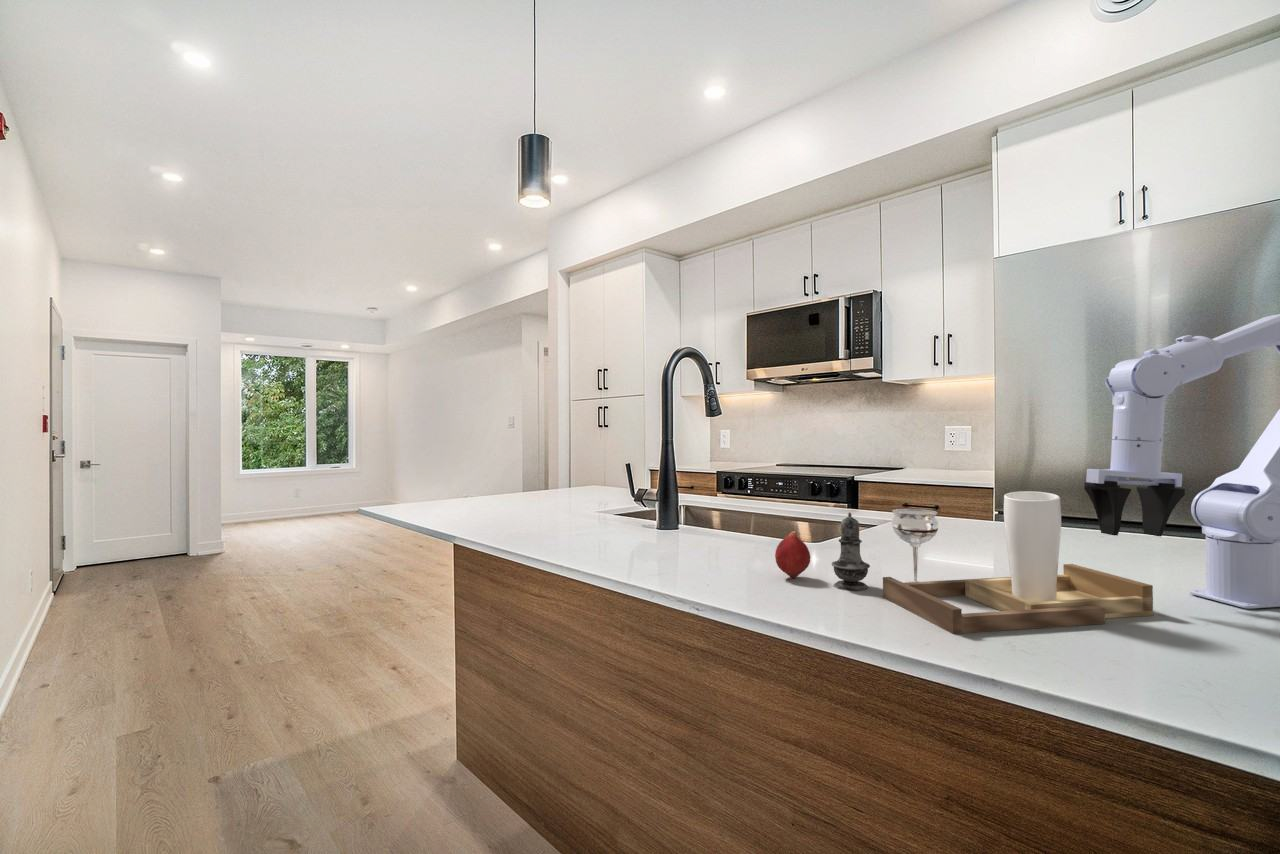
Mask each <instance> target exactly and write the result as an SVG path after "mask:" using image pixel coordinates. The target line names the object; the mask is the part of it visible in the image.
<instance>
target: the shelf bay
mask: <svg viewBox="0 0 1280 854" xmlns="http://www.w3.org/2000/svg"><path fill="white" fill-rule="evenodd" d="M995 578H996V577H989V578H988V577H986V578H983V577H982V578H981V579H995ZM999 578H1011V576H1005V577H1003V576H1002V577H999ZM976 579H977V578H968V579H949V580H948V579H946V580H930V581H929V580H928V581H918V582H911V581H907V582H908V583H905V582H902V581H900V580H898V579H896V578H894V577H891V576H883V577H882V597H883V598H884V599H886V600H887V601H890V602H891V603H894V604H895V605H897V606H899V607H901V608H903V609H905V610H907V611H909V612H911V613H913V614H914V615H917V616H918V617H921V618H923V619H924V620H926V621H928V622H929V623H931V624H934V625H935V626H937V627H939V628H941V629H943V630H945V631H947V632H949V633H951V634H968V633H969V634H971V633H983V632H984V633H985V632H997V631H999V632H1001V631H1014V630H1016V631H1017V630H1026V629H1027V630H1029V629H1044V628H1059V627H1061V628H1062V627H1072V626H1088V625H1089V626H1090V625H1102V624H1103V625H1104V624H1106V618H1105V608H1103V607H1100V606H1097V605H1095V606H1078V607H1062V608H1046V609H1030V610H1014V611H1000V610H998V611H985V612H984V611H983V612H970V613H962V608H960V607H959V606H956V605H954V604H952V603H949V602H947V601H945V600H943V599H940V598H937V597H951V596H952V597H953V596H965V580H976Z"/></svg>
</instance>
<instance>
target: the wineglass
mask: <svg viewBox="0 0 1280 854" xmlns="http://www.w3.org/2000/svg"><path fill="white" fill-rule="evenodd" d="M891 512H892V513H893V515H894V517H893V519H892V521H891V525H892V530H893V532H894V534H896V535H897V536H898V538H900V540H902V541H904V542H906V543H908V544H909V546H910V547H911V548H912V558H913V559H912V560H913V561H912V563H913V564H912V565H913V576H914V577H913V578H914V580H912V581H911V580H910V582H919V580H918V562H919V561H918V560H919V559H918V553H919V552H918V551H919V548H920V547H921V545H923V544H924V543H926V542H927V543H928V542H929V541H930V540H932V539H933V538H934V537H935V536H936V534H937V532H938V530H939V524H938V520H937V519H936V516H937V514H938V511H935V510H932V509H925V508H924V509H922V508H896V509H892V511H891ZM908 582H909V581H907V582H904V583H908Z"/></svg>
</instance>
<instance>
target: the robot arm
mask: <svg viewBox="0 0 1280 854" xmlns="http://www.w3.org/2000/svg"><path fill="white" fill-rule="evenodd" d="M1175 342H1176V343H1173V344H1171V345H1168V346H1165V347H1163V348H1160V349H1156V348H1152V349H1151V348H1150V349H1148V350H1145V351H1144V352H1143V354H1144V355H1143V356H1142V357H1140V358H1132V359H1125V360H1121V361H1120V362H1118V363H1116V364H1115V365H1114V367H1112V368H1111V369H1110V372H1109V374H1108V376H1107V377H1105V378H1104V384H1105V386H1106V390H1108V393H1110V395H1111V397H1112V403H1111V405H1112V406H1113V414H1112V415H1113V416H1112V429H1111V430H1112V432H1111V439H1112V440H1111V447H1110V448H1111V450H1110V451H1111V452H1110V466H1109V467H1110V468H1104V469H1102V468H1099V469H1098V468H1087V469H1086V480H1085V481H1086V482H1084V483H1083V484H1084V485H1083V489H1084V491H1085V492H1086V494H1087V495H1088V497H1089V499H1090V501H1091V503H1092V505H1093V508H1094V510H1095V513H1096V517H1097V522H1098V524H1099V525H1098V526H1099V530H1100V533H1101V534H1105V535H1110V536H1118V535H1119V534H1120V530H1121V525H1122V524H1121V523H1122V516H1123V511H1124V507H1125V505H1126V502H1127V500H1128V497H1129V495H1130V494H1131V492H1132V489H1131V488H1125V487H1121V485H1134V486H1135V485H1136V491H1137V493H1138V496H1139V500H1140V504H1141V513H1142V516H1141V518H1142V519H1141V520H1142V523H1141V524H1142V532H1143V534H1144V535H1147V536H1152V537H1153V536H1155V537H1162V535H1163V533H1164V531H1165V528H1166V525H1167V523H1168V521H1169V518H1170V516H1171V514H1172V512H1173V510H1174V509H1175V508H1176V507H1177V506H1176V505H1178V503H1179V502H1180V501H1181V500H1182V499H1183V498H1184V497H1185V495H1186V489H1185V488H1181V487H1182V485H1183V483H1182V482H1183V473H1178V472H1177V473H1175V472H1163V471H1161V470H1162V456H1163V455H1162V454H1163V441H1164V440H1163V439H1164V438H1163V437H1164V424H1165V419H1164V418H1165V403H1166V396H1169V395H1170V394H1172V392H1174V390H1175V389H1176V388H1177V387H1178V386H1181V385H1184V384H1187V383H1189V382H1192V381H1195V380H1197V379H1200V378H1204V377H1206V376H1209V375H1211V374H1213V373H1216V372H1218V371H1219V370H1221V368H1222V366H1223V363H1224V360H1226V359H1229V358H1232V357H1235V356H1238V355H1242V354H1245V353H1247V352H1251V351H1253V350H1257V349H1259V348H1263V347H1267V348H1268V347H1269V348H1270V347H1273V348H1274V349H1275V351H1276V352H1277V354H1278V355H1279V356H1280V313H1278V314H1273V315H1267V316H1264V317H1262V318H1260V319H1256V320H1255V321H1252V322H1250V323H1247V324H1244V325H1243V326H1240V327H1237V328H1235V329H1233V330H1230V331H1228V332H1226V333H1223V334H1221V335H1219V336H1216V337H1214V338H1209V337H1207V336H1204V335H1195V336H1193V335H1192V334H1187V335H1182V336H1179V337H1177V338H1175ZM1130 478H1134V479H1138V480H1130ZM1118 484H1119V485H1118ZM1190 512H1191V517H1192V518H1193V520H1194V521H1195V523H1196V524H1197V525H1198V526H1200V527H1201V533H1202V534H1204V535H1205V576H1206V577H1205V583H1206V585H1205V589H1192V590H1189V594H1190V595H1193V596H1196V597H1202V598H1204V599H1209V600H1213V601H1216V602H1220V603H1224V604H1227V605H1231V606H1235V607H1238V608H1243V609H1247V610H1248V609H1249V610H1253V609H1264V608H1265V609H1266V608H1276V607H1277V608H1280V408H1279V409H1278V410H1277V412H1276V413H1275V415H1274V416H1273V418H1272V419H1271V421H1269V423H1268V425H1267V426H1266V428H1265V429H1264V430H1263V432H1262V433H1261V435H1260V436H1259V438H1258V439H1257V441H1256V442H1255V444H1254V445H1253V447H1252V448H1251V449H1250V451H1249V452H1248V454H1247V455H1246V456H1245V457H1244V459H1243V461H1242V462H1241V464H1240V465H1239V467H1238V468H1236V469H1234V470H1232V471H1229V472H1226V473H1224V474H1223V475H1220V476H1218V477H1216V478H1215V479H1214V481H1213V482H1212V484H1211V485H1209V486H1208V487H1207V488H1206V489H1202V491H1199V493H1197V494H1196V495H1195V496H1194V498H1193V500H1192V502H1191V506H1190Z"/></svg>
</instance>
